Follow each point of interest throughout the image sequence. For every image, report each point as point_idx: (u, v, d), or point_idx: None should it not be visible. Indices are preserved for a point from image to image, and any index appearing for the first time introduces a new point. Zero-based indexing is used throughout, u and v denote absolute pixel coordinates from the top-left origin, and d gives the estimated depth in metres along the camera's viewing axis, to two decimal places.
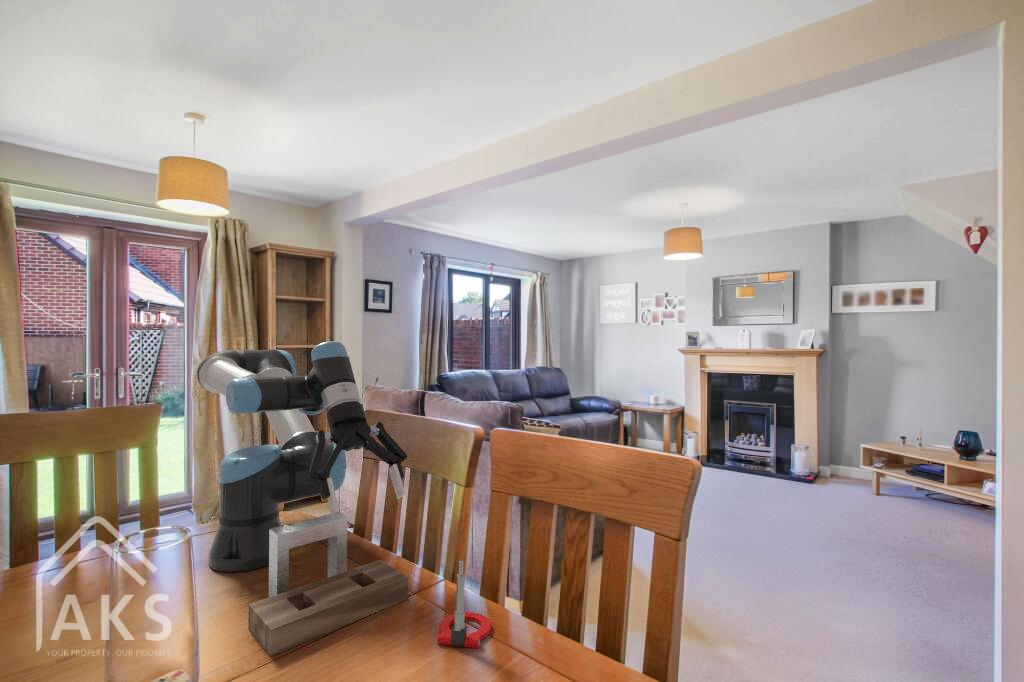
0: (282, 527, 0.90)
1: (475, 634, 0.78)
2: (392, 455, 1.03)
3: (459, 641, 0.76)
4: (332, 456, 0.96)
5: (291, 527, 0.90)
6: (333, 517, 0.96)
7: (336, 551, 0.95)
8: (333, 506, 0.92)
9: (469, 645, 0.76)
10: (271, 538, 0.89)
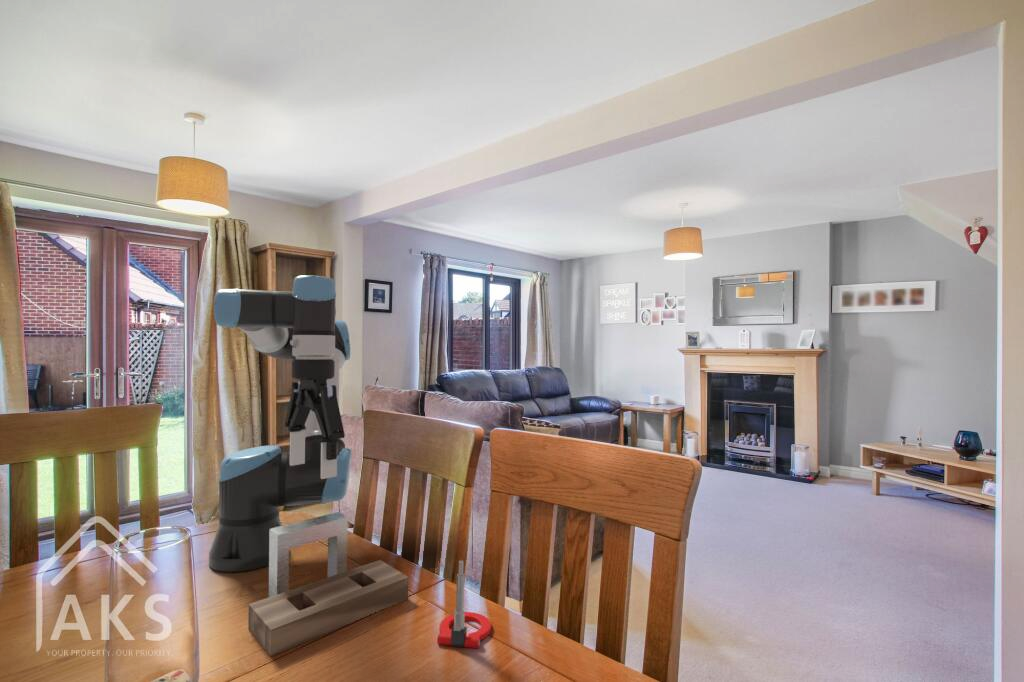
0: (282, 527, 0.90)
1: (475, 634, 0.78)
2: (322, 430, 0.88)
3: (459, 641, 0.76)
4: (295, 412, 0.96)
5: (291, 527, 0.90)
6: (333, 517, 0.96)
7: (336, 551, 0.95)
8: None
9: (469, 645, 0.76)
10: (271, 538, 0.89)
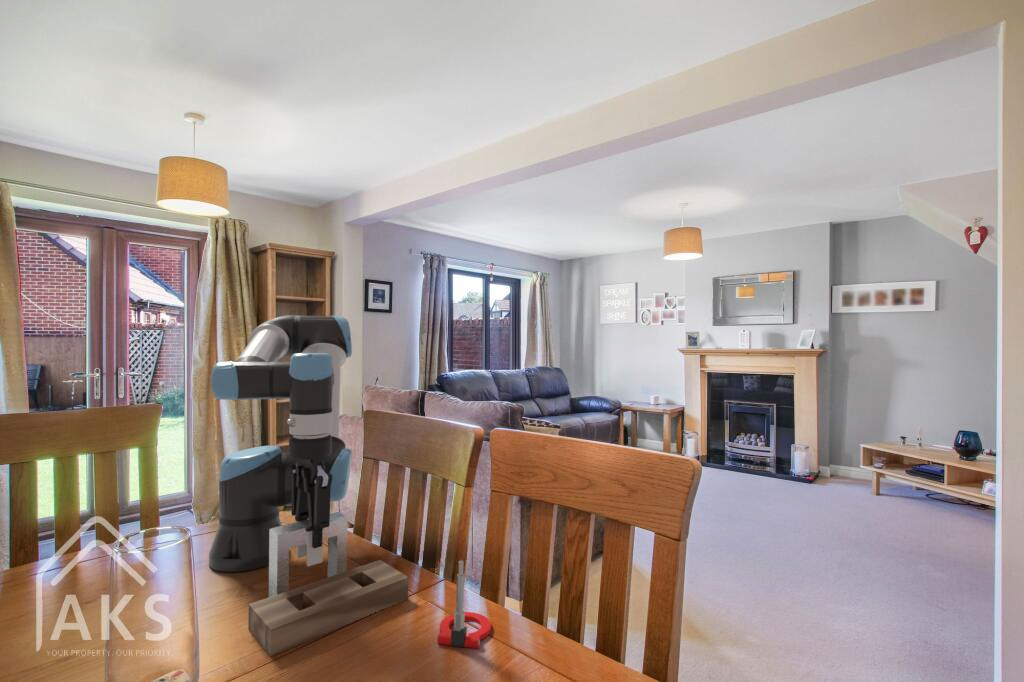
0: (282, 527, 0.90)
1: (475, 634, 0.78)
2: (310, 518, 0.90)
3: (459, 641, 0.76)
4: (297, 496, 0.94)
5: (291, 527, 0.90)
6: (333, 517, 0.96)
7: (336, 551, 0.95)
8: None
9: (469, 645, 0.76)
10: (271, 538, 0.89)
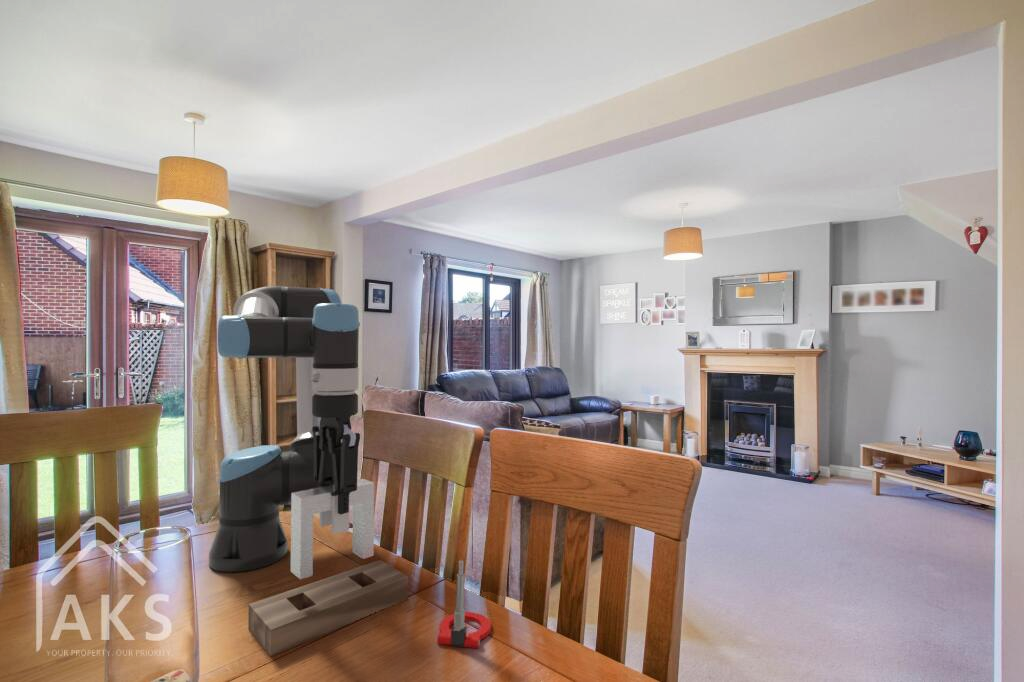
0: (305, 492, 0.83)
1: (475, 634, 0.78)
2: (336, 481, 0.82)
3: (459, 641, 0.76)
4: (321, 460, 0.87)
5: (315, 491, 0.83)
6: (359, 483, 0.88)
7: (363, 519, 0.87)
8: None
9: (469, 645, 0.76)
10: (294, 502, 0.81)
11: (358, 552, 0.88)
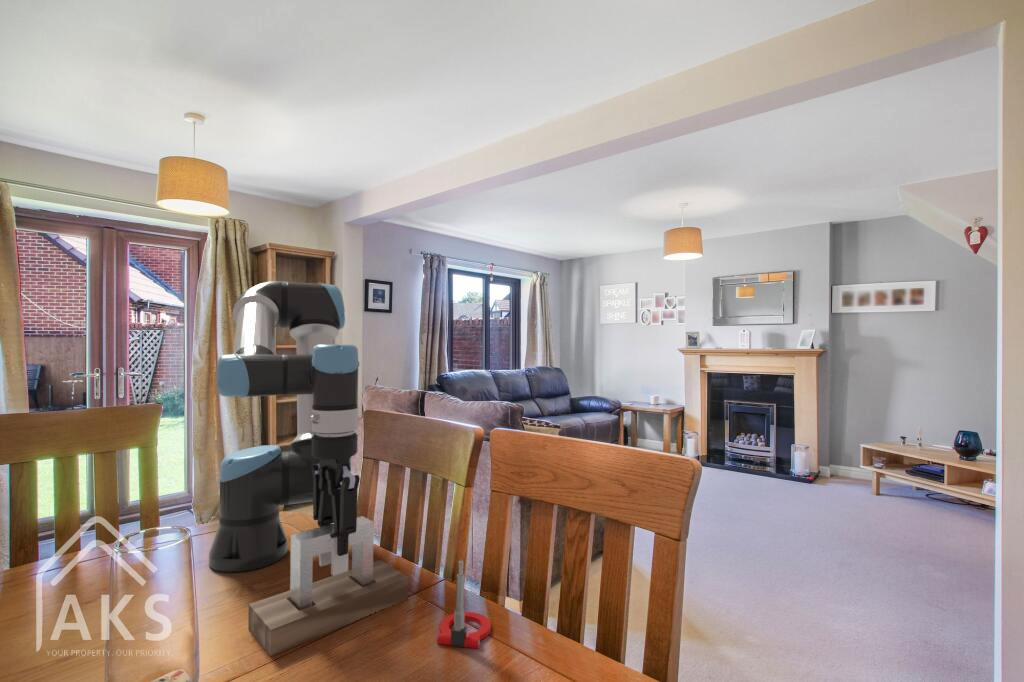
0: (304, 533, 0.83)
1: (475, 634, 0.78)
2: (335, 523, 0.82)
3: (459, 641, 0.76)
4: (320, 499, 0.87)
5: (314, 533, 0.83)
6: (358, 522, 0.88)
7: (362, 558, 0.87)
8: None
9: (469, 645, 0.76)
10: (293, 544, 0.81)
11: None
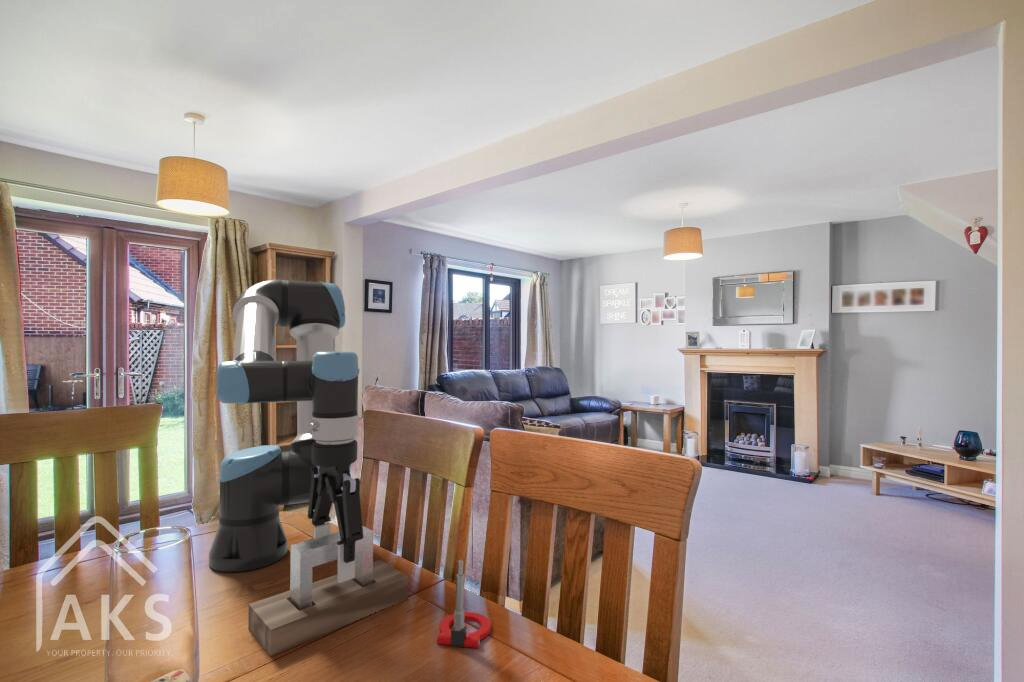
0: (304, 543, 0.83)
1: (475, 634, 0.78)
2: (341, 529, 0.81)
3: (459, 641, 0.76)
4: (317, 501, 0.88)
5: (314, 543, 0.83)
6: None
7: (362, 568, 0.87)
8: None
9: (469, 645, 0.76)
10: (293, 555, 0.82)
11: None
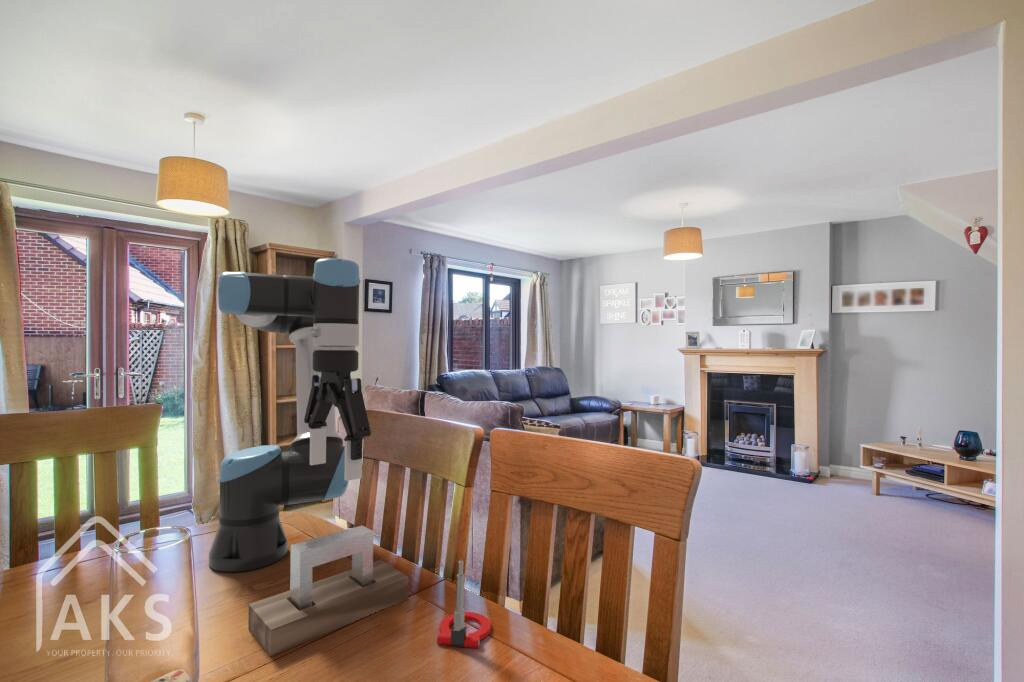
0: (304, 543, 0.83)
1: (475, 634, 0.78)
2: (347, 427, 0.80)
3: (459, 641, 0.76)
4: (315, 407, 0.89)
5: (314, 543, 0.83)
6: (358, 531, 0.89)
7: (362, 568, 0.87)
8: None
9: (469, 645, 0.76)
10: (293, 555, 0.82)
11: None
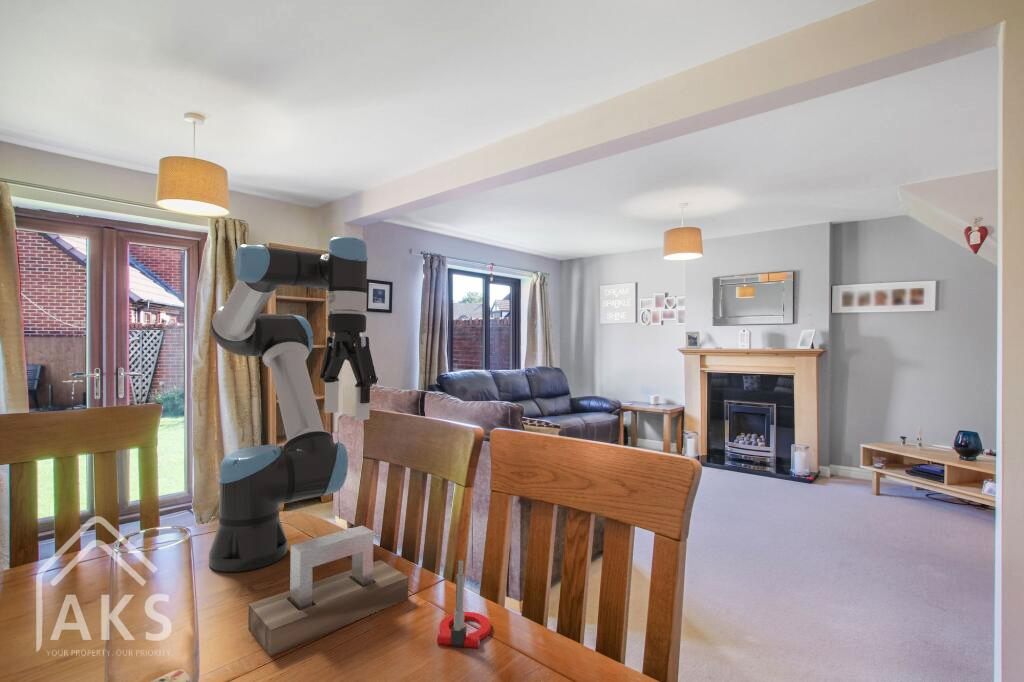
0: (304, 543, 0.83)
1: (475, 634, 0.78)
2: (357, 376, 0.96)
3: (459, 641, 0.76)
4: (330, 363, 1.05)
5: (314, 543, 0.83)
6: (358, 531, 0.88)
7: (362, 568, 0.87)
8: None
9: (469, 645, 0.76)
10: (293, 555, 0.82)
11: None
